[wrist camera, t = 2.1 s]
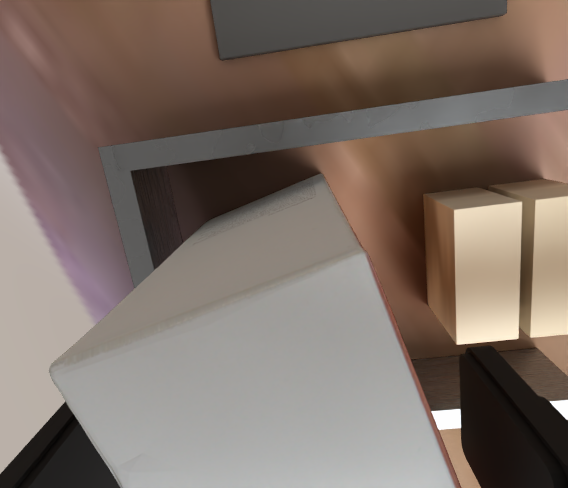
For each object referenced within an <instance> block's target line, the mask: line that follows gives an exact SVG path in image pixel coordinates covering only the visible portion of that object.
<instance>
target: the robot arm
mask: <svg viewBox="0 0 568 488" xmlns="http://www.w3.org/2000/svg"><path fill="white" fill-rule="evenodd" d="M459 373H460V410H461V442H462V448H463V452H464V455H465V457H466V459H467V461H468V463H469V465H470V467H471V469H472V471H473V473H474V475H475V477H476V479H477V480H478V482H479V484H480V486H481V488H568V421H567V419H566V418H565V417H564V416H563V415H562V414H561V413H560V412H559V411H558V410H557V409H556V408H555V407H554V406H553V405H552V404H551V403H550V402H549V401H548V400H547V399H546V398H544V397H541V396H538V395H537V394H536V393H535V392H534V391H533V390H532V388H531V387H530V386H529V385H528V384H527V383H526V382H525V381H524V380H523V379H522V378H521V377H520V376H519V374H518V373H517V372H516V371H515V370H514V369H513V368H512V367H511V366H510V365H509V364H508V363H507V362H506V360H505V359H504V358H503V357H502V356H501V355H500V354H499V353H498V352H497V351H496V350H495V349H494V348H493V347H492V346H481V347H471V348H467V349H466V354H461V355H460V357H459ZM0 488H120V486H119V484H118V482H117V481H116V479H115V477H114V476H113V474H112V472H111V471H110V469H109V468H108V466H107V465H106V463H105V462H104V460H103V459H102V457H101V456H100V454H99V453H98V451H97V450H96V448H95V447H94V445H93V444H92V442H91V441H90V439H89V437H88V436H87V434H86V432H85V431H84V429H83V428H82V426H81V424H80V423H79V421H78V420H77V418H76V417H75V415H74V414H73V412H72V411H71V409H70V408H69V406H68V405H67V403H66V402H65V403H64V404H63V405H62V406H61V407H60V408H59V409H58V410H57V412H56V413H55V414H54V415H53V416H52V417H51V418H50V419H49V421H48V422H47V423H46V424H45V425H44V426H43V427H42V428H41V429H40V431H39V432H38V433H37V434H36V435H35V436H34V438H32V439H31V441H30V442H29V443H28V444H27V445H26V446H25V447H24V448H23V450H22V451H21V452H20V453H19V454H18V455H17V456H16V457H15V458H14V460H13V461H12V462H11V463H10V464H9V465H8V466H7V467H6V468H5V470H4V471H3V472H2V473H1V474H0Z"/></svg>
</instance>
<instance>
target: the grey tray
mask: <svg viewBox="0 0 568 488" xmlns="http://www.w3.org/2000/svg"><path fill="white" fill-rule="evenodd" d="M562 110H568V79H566V80H560V81H553V82H546V83H539V84H532V85H525V86H518V87H511V88H504V89H498V90H491V91H484V92H477V93H470V94H463V95H456V96H449V97H442V98H436V99H429V100H422V101H415V102H408V103H401V104H394V105H387V106H381V107H374V108H367V109H360V110H353V111H346V112H339V113H332V114H325V115H319V116H312V117H305V118H298V119H291V120H284V121H277V122H270V123H264V124H257V125H250V126H243V127H236V128H229V129H222V130H215V131H208V132H202V133H195V134H188V135H181V136H174V137H167V138H160V139H153V140H146V141H140V142H133V143H126V144H119V145H112V146H105V147H98V149H99V153H100V157H101V161H102V165H103V168H104V172H105V176H106V180H107V184H108V188H109V192H110V196H111V199H112V203H113V207H114V211H115V215H116V219H117V223H118V226H119V230H120V234H121V238H122V242H123V246H124V250H125V253H126V257H127V261H128V265H129V269H130V273H131V277H132V281H133V284H134V288H136V287H137V286H138V285H139V284H140V283H141V282H142V281H143V280H145V279H146V278H147V277H148V276H149V275H150V274H151V273H152V272H153V271H154V270H155V269H156V268H158V267H159V266H160V265H161V264H162V263H163V262H164V261H165V260H166V259H167V258H168V257H169V256H170V255H171V254H172V253H173V252H174V251H175V250H176V249H178V248H179V247H180V246H181V245H182V244H183V242H182V238H181V233H180V228H179V224H178V219H177V214H176V210H175V205H174V201H173V196H172V191H171V187H170V182H169V177H168V173H167V168H166V166H168V165H175V164H182V163H189V162H196V161H204V160H211V159H218V158H225V157H232V156H239V155H247V154H254V153H261V152H268V151H275V150H282V149H290V148H297V147H304V146H311V145H318V144H325V143H333V142H340V141H347V140H354V139H361V138H369V137H376V136H383V135H390V134H397V133H404V132H412V131H419V130H426V129H433V128H440V127H447V126H455V125H462V124H469V123H476V122H483V121H491V120H498V119H505V118H512V117H519V116H526V115H534V114H541V113H548V112H555V111H562ZM498 353H499V354H500V355H501V356H502V357H503V358H504V359H505V360H506V362H507V363H508V364H509V365H510V366H511V367H512V368H513V369H514V370H515V371H516V372H517V373H518V374H519V376H520V377H521V378H522V379H523V380H524V381H525V382H526V383H527V384H528V385H529V386H530V387H531V388H532V390H533V391H534V392H535V393H536V394H537V395H538V396H541V397H544V398H546V399H547V400H548V401H549V402H550V403H551V404H552V405H553V406H554V407H555V408H556V409H557V410H558V411H559V412H560V413H561V414H562V415H563V416H564V417H565V418H566V419H568V376H567V375H566V374H564V373H563V372H562V371H561V370H560V369H559V368H558V367H557V366H556V365H555V364H554V363H553V362H552V361H550V360H549V359H548V358H547V357H546V356H545V355H544V354H543V353H542V352H541V351H540V350H539V349H537V348H534V349H523V350H513V351H502V352H498ZM459 357H460V355H459V356H448V357H438V358H427V359H416V360H411V362H412V364H413V367H414V369H415V372H416V374H417V377H418V379H419V382H420V384H421V387H422V389H423V392H424V394H425V397H426V399H427V402H428V404H429V407H430V409H431V412H432V414H433V417H434V419H435V422H436V425H437V427H438V430H440V429H453V428H461V410H460V373H459Z"/></svg>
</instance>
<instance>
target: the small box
mask: <svg viewBox="0 0 568 488" xmlns="http://www.w3.org/2000/svg"><path fill="white" fill-rule="evenodd" d="M49 372H50V376H51V378H52V381H53V382H54V384H55V385H56V387H57V388H58V390H59V391H60V392H61V394H62V396H63V398H64V399H65V401H66V403H67V405H68V406H69V408H70V409H71V411H72V412H73V414H74V415H75V417H76V418H77V420H78V421H79V423H80V424H81V426H82V428H83V429H84V431H85V432H86V434H87V436H88V437H89V439H90V441H91V442H92V444H93V445H94V447H95V448H96V450H97V451H98V453H99V454H100V456H101V457H102V459H103V460H104V462H105V463H106V465H107V466H108V468H109V469H110V471H111V472H112V474H113V476H114V477H115V479H116V481H117V482H118V484H119V486H120V488H461V486H460V483H459V481H458V478H457V475H456V473H455V470H454V468H453V465H452V463H451V460H450V458H449V455H448V453H447V450H446V447H445V445H444V442H443V440H442V437H441V435H440V432H439V430H438V427H437V425H436V422H435V419H434V417H433V414H432V412H431V409H430V407H429V404H428V402H427V399H426V397H425V394H424V392H423V389H422V387H421V384H420V382H419V379H418V377H417V374H416V372H415V369H414V367H413V364H412V362H411V359H410V357H409V354H408V352H407V349H406V347H405V344H404V342H403V339H402V336H401V334H400V331H399V328H398V326H397V323H396V320H395V317H394V315H393V312H392V310H391V307H390V305H389V303H388V300H387V298H386V296H385V293H384V291H383V288H382V286H381V284H380V281H379V279H378V276H377V274H376V272H375V269H374V267H373V264H372V261H371V259H370V257H369V255H368V253H367V251H366V250H365V249H364V248H363V247H362V245H361V243H360V242H359V240H358V238H357V236H356V234H355V232H354V231H353V229H352V227H351V226H350V224H349V222H348V220H347V218H346V216H345V214H344V212H343V210H342V209H341V207H340V205H339V203H338V202H337V200H336V198H335V196H334V194H333V192H332V191H331V189H330V186H329V184H328V182H327V181H326V178H325V177H324V175H323V174H321V173H320V174H318V175H315V176H313V177H310V178H308V179H306V180H303V181H301V182H299V183H296V184H294V185H292V186H289V187H287V188H284V189H282V190H280V191H277V192H275V193H273V194H270V195H268V196H266V197H263V198H261V199H258V200H256V201H254V202H251V203H249V204H246V205H244V206H242V207H239V208H237V209H235V210H232V211H230V212H227V213H225V214H223V215H220V216H218V217H215V218H213V219H211V220H209V221H207V222H206V223H205V224H204V225H202V226H201V227H200V228H199V229H198V230H197V231H196V232H195V233H194V234H193V235H192V236H190V237H189V238H188V239H187V240H186V241H185V242H184V243H183V244H182V245H181V246H180V247H179V248H178V249H176V250H175V251H174V252H173V253H172V254H171V255H170V256H169V257H168V258H167V259H166V260H165V261H164V262H163V263H162V264H161V265H160V266H159V267H158V268H156V269H155V270H154V271H153V272H152V273H151V274H150V275H149V276H148V277H147V278H146V279H145V280H143V281H142V282H141V283H140V284H139V285H138V286H137V287H136V288H135V289H134V290H133V291H132V292H131V293H130V294H129V295H127V296H126V297H125V298H124V299H123V300H122V301H121V302H120V303H119V304H118V305H117V306H116V307H115V308H114V309H112V310H111V311H110V312H109V313H108V314H107V315H106V316H105V317H104V318H103V319H102V320H101V321H100V322H99V323H98V324H96V325H95V326H94V327H93V328H92V329H91V330H89V331H88V332H87V333H86V334H85V335H84V336H83V337H82V338H81V339H80V340H79V341H78V342H76V343H75V344H74V345H73V346H72V347H71V348H69V349H68V350H67V351H66V352H65V353H64V354H62V356H60V357H59V358H58V359H57V360H55V361H54V362H53V363H52V364H51V366H50V369H49Z"/></svg>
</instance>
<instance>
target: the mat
mask: <svg viewBox="0 0 568 488" xmlns="http://www.w3.org/2000/svg"><path fill="white" fill-rule="evenodd" d="M210 1H211V7H212V13H213V19H214V25H215V31H216V37H217V43H218V49H219V55H220V59H221V60H222V61H223V60H229V59H235V58H242V57H248V56H254V55H260V54H267V53H273V52H279V51H286V50H292V49H298V48H304V47H311V46H317V45H323V44H329V43H336V42H342V41H348V40H354V39H361V38H367V37H373V36H380V35H386V34H392V33H398V32H405V31H411V30H417V29H423V28H430V27H436V26H442V25H448V24H455V23H461V22H467V21H474V20H480V19H486V18H492V17H499V16H503V15H505V14H506V13H507V0H210Z"/></svg>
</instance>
